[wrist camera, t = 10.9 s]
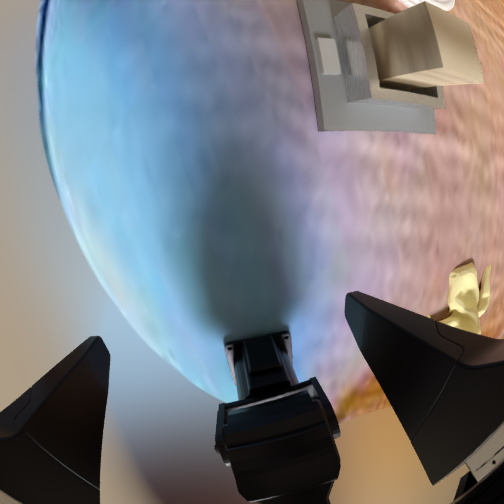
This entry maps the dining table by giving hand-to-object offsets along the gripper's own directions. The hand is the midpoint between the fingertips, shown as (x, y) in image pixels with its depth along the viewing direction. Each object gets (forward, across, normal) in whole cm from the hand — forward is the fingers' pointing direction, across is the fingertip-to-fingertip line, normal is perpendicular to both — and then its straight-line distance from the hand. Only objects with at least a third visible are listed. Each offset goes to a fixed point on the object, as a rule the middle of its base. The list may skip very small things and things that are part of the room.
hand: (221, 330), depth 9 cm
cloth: (+14, -33, +18) cm, 40 cm away
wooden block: (+12, -15, -12) cm, 23 cm away
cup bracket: (+12, -15, -12) cm, 23 cm away
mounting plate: (+13, -15, -12) cm, 23 cm away
